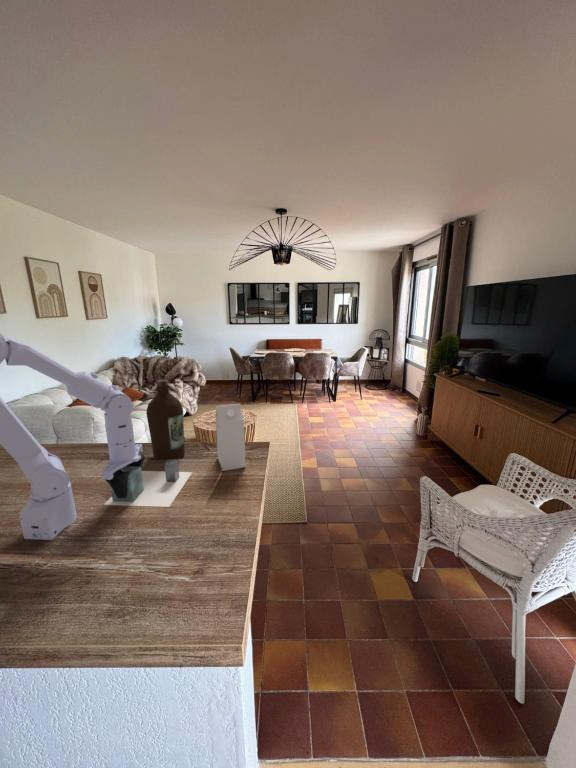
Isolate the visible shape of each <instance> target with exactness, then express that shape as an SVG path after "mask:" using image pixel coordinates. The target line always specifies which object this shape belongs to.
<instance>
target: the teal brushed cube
mask: <svg viewBox="0 0 576 768" xmlns="http://www.w3.org/2000/svg"><path fill="white" fill-rule="evenodd" d="M121 471H123V472H130V473H129V476H128V480H127V496H126V498H117V497H116V495H115V493H114V491H113V489H112V487H111V486H110V492H111V497H112V499H113V501H119V502H134V501H135V500H136V499H137V497H138V496H139V495H140V494H141V493H142V492H143V491H144V486H143V478H142V471H143V470H142V467H132V466H125V467H123V468H121Z"/></svg>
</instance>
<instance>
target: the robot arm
mask: <svg viewBox="0 0 576 768" xmlns="http://www.w3.org/2000/svg"><path fill="white" fill-rule="evenodd" d="M5 337H6V339H5ZM5 337H4V336H3V335H2V333H0V365H1V364H2V363H3V362H4V360H5V363H6V366H25V367H28V368H30V369H32V370H34V371H37V372H38V373H41V374H43V375H45V376H47V377H49V378H51V379H52V380H54V381H57V382H59V383H61V384H62V385H64V386H66V391H67V393H68V395H71V397H74V398H76V399H78V400H80V401H82V402H84V403H86V404H88V405H90V407H91V406H92V407H93V408H95V409H100V410H101V411H103V412H104V413H103V416H104V417H103V418H104V422H105V423H104V427H105V434H106V440H107V447H108V453H109V454H108V455H109V459H108V461H107V463H106V465H105V467H104V469H103V470H102V471H101V477H102V480H104V481H106V483H107V484H109V487H110V488H111V487H112V489H113V491H114V493H115V495H116V497H117V498H126V496H127V480H128V476H129V473H130V472H123V471H121V468H123V467H125V466H132V467H141V468H142V467H143V463H144V461H145V458H146V457H145V455H144V454H140V453H142V452H144V449H143V444H141V443H136V441H135V440H136V439H135V434H134V427H133V426H134V425H133V420H132V413H133V410H134V407H135V405H134V403H133V402H132V400H131V397H129V396H128V394H127V395H126V394H125V393H124V392H122V391H121V390H120V389H119V388H118V387H117V386H116V385H114V384H111V385H109V383H106V382H105V381H103V380H101V379H99V378H98V377H99V375H98V374H96V373H95V372H94V371H91V372H90V373H89V372H87V371H78V372H75V371H72V370H71V369H70V368H68V367H66V366H65V365H62V364H61V363H59V362H57V361H56V360H55V359H53V358H51V357H50V356H47V355H46V354H44V353H42V352H41V351H39V350H38V349H36V348H34V347H32V346H31V345H29V344H27V343H25V342H23V341H21V340H18V339H16V338H14V337H11V336H9V335H5ZM0 445H1V446H2V447H3V448H4V450H5V451H6V452H7V453H8V454H9V455H10V456H11V458H13V459H14V461H15V462H16V463H17V464H18V466H19V468H20V469H21V470H22V472H23V474H24V476H25V477H26V478H27V479H28V481H29V482H30V490H31V491H29V499H28V502H27V503H26V505H25V506H24V507H23V508H22V509H21V510H20V512H19V513H18V514H19V515H18V516H19V523H20V527H21V531H22V535H23V539H24V540H43V541H44V540H46V541H52V540H54V538H55V537H57V535H59V534H60V533H61V532H62V531H63V530H65V529H66V528H67V527H69V526H70V525H72V524H73V523H74V522H75V521H76V519H77V517H78V516H77V510H76V505H75V499H74V495H73V489H72V484H71V481H70V476H69V474H68V473H67V471H66V470H65V467H64V464H63V461H62V459H61V458H60V457H59V456H57V455H55V454H53V453H50V452H49V451H48V450H47V449H46V448H45V447H44V446H42V445H41V444H40V443H39V441H38V440H37V438H35V436H33V434H32V433H31V432H30V431H29V429H27V427H26V426H25V424H24V423H23V422H22V421H21V420H20V419H19V418H18V416H17V415H16V414H15V412H14V411H13V410H12V409H11V408H10V407H9V405H8V404H7V403H6V402H5V401H4V400H3V398H2V397H1V396H0Z"/></svg>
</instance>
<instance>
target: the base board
mask: <svg viewBox="0 0 576 768" xmlns="http://www.w3.org/2000/svg"><path fill="white" fill-rule="evenodd" d="M192 474H193V471H192V472H191V471H179V478H178V480H177V481H176V482H166V475H165V470H164V471H161V470H160V471H159V470H158V471H157V470H155V471H154V470H142V478H143V486H144V491H143V492H142V493H141V494H140V495H139V496H138V497H137V499H136V500H135V501H134V502H119V501H113V499H112V496H111V497H110V498H109V499H108V500H107V501H105V503H104V504H103V505H105V506H128V507H129V506H131V507H154V508H155V507H157V508H158V507H159V508H160V507H161V508H162V507H163V508H170V506H171V505H172V504H173V502H174V501H175V499H176V498H177V496H178V495H179V493H180V491H181V490H182V488H183V487H184V485H186V483H187V482H188V479H189V478H190V477H191V475H192Z"/></svg>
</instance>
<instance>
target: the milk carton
mask: <svg viewBox="0 0 576 768" xmlns="http://www.w3.org/2000/svg"><path fill="white" fill-rule="evenodd" d="M241 405H242V404H241V403H233V404H225V405H216V406H215V409H216V411H215V415H214V418H215V433H216V434H215V435H216V447H217V448H216V449H217V460H218V462H219V465H220V467H221V472H226V471H230V470H231V471H232V470H236V469H243V468H245V467H246V447H245V446H246V445H245V423H244V421H245V420H244V415H243V410H242V406H241Z"/></svg>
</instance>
